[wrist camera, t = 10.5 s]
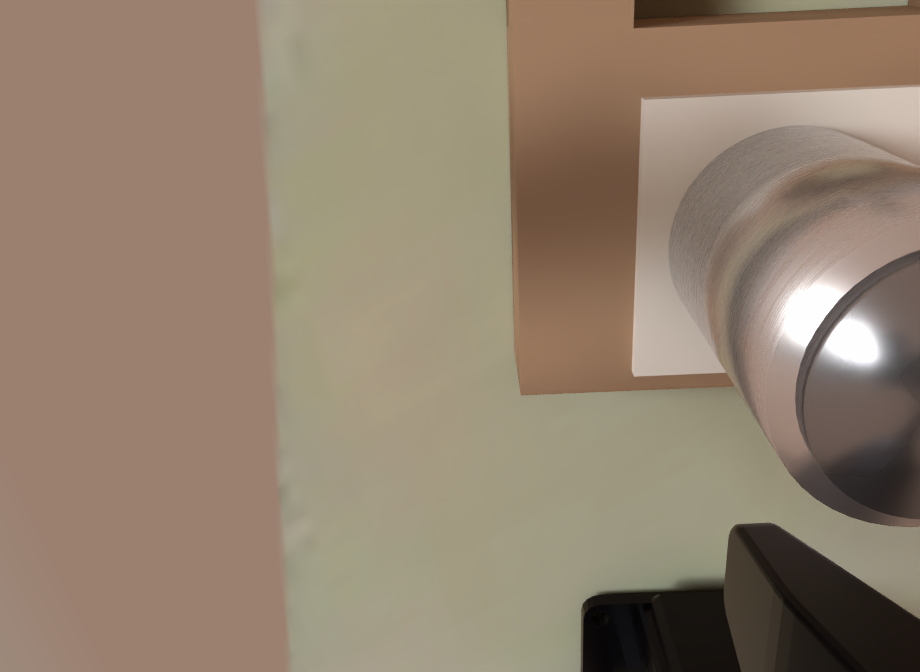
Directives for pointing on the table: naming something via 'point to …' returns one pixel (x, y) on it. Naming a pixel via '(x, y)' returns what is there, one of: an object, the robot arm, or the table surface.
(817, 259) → the plug
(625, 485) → the table surface
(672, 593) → the robot arm
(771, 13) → the block
